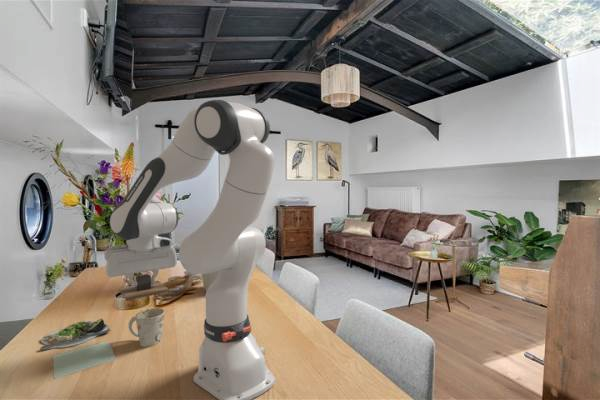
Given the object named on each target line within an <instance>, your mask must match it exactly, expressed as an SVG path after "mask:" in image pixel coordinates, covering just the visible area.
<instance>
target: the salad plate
mask: <svg viewBox="0 0 600 400" xmlns="http://www.w3.org/2000/svg"><path fill="white" fill-rule="evenodd" d="M109 332H111V329H110V327H109V325H108V324H105V321H104V319H103V318H99V319H97V320H96V321H93V320H85V321H79V322H75V323H72V324H70V325H67V326H66V327H63V328H61V329H58V330H55V331H53V332H50V333H47V334H45V335H44V336H42V338H41V340H40V343H42V345H43V346H41V347H40V348H39V350H41V351H42V350H44V351H45V350H51V349H52V350H53V349H64V348H65V349H66V348H71V347H77V346H79V345H82V344H85V343H86V342H89V341H91V340H93V339H96V338H98V337H101V336H104V335H105V334H107V333H109ZM51 339H52V340H53V339H56V340H55V342H51V341H50V340H51Z"/></svg>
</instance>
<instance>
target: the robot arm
mask: <svg viewBox="0 0 600 400" xmlns="http://www.w3.org/2000/svg"><path fill="white" fill-rule="evenodd" d="M270 129H271V126H270V122H269V119H268V118H267V116H266V115H265V114H264V113H263V112H261V110H259V109H257V108H255V107H250V106H246V105H244V104H243V103H241V102H234V101H226V100H223V99H212V100H207V101H205V102H203V103H202V104H201V105H199V107H197V108H193V109H191V110H190V111H189V113H188V114H187V115H186V116H185V118H184V119H183V120H182V122H181V123H180V125H179V126H178V128H177V130H176V132H175V134H174V135H173V138H172V140H171V142H169V144H168V146H166V148H165V149H164V151H163V152H161V153H160V154H159V155H158V156H156V158H154V159H152V160H150V161H149V162H148V163H147V164H146V166H145V167H144V168H143V169H142V171H141V173H140V174H139V176H138V177H137V178H136V180H135V181H134V183H133V184H132V186H131V187H130V189H129V191H128V192H127V194H125V195H126V196H125V197H124V198H123V199H122V200H121V201H120V203H119V204H117V206H115V208H114V209H113V210H112V212H111V214H110V216H109V228H110V230H111V232H112V233H113V234H114V235H115V236H116V237H118V238H119V239H121V240H124V241H126V243H125V244H119V245H118V244H117V245H110V246H109V247H108V248H106V249H105V250H104V253H103V254H104V259H105V260H106V263H105V275H107V277H109V278H116V277H122V276H127V277H128V279H129V280H130V282H131V286H132V287H133V288H135V287H138V281H137V280H136V279H134V278H135V274H139V273H145V272H146V273H147V272H152V275H151V284H155V281H156V278H157V276H158V275H159V270H164V269H171V268H175V267H176V265H177V264H178V260H177V259H178V258H179V261H180V264H181V265H182V267H183V269H184V270H185V271H186V272H187V273H189V274H192V275H202V274H209V273H213V272H217V271H220V272H219V274H218V276H217V278H216V280H215V281H214V282H213V283H212V284H211V285H210V286H209V288H208V289H207V291H206V292H205V318H204V322H203V323H204V324H203V330H204V333H203V334H204V338H203V340H202V342H201V344H200V346H199V353H198V354H199V355H198V369H197V372H196V373H195V374H194V375H193V382H194V383H195V384H196V385H198V386H199V387H201V388H202V389H203V390H205V391H206V392H208V393H209V394H211V395H212V396H213V397H215V398H216V399H218V400H252V399H254V398H257V397H259V396H261V395H262V394H264V393H265V392H267V391H268V390H270V389H271V388H272V387H273V386H274V384H275V383H276V377H275V376H274V374H273V372H272V371H271V369H269V367H268V366H267V365H266V361H265V355H266V350H265V348H264V346H260V347H259V345H258V343H257V338H256V337H254V336H253V334H252V327H253V326H252V325H251V320H250V317H249V315H248V290H249V284H250V280H251V277H252V275H253V271H254V269H255V267H256V264H257V263H258V261H259V260H260V259H261V257H262V256H263V255H264V254H265V252H266V245H267V242H266V238H265V235H264V233H263V232H262V231H261V229H259V228H258V227H255V226H251V225H252V224H253V223H254V222H256V220H258V218H259V216H260V213H261V210H262V208H263V204H264V202H265V199H266V196H267V193H268V191H269V188H270V184H271V181H272V176H273V173H274V166H275V154H274V152H273V151H272V150H271V148H270V147H269V146H267V145H266V144H264V143H265V142H266V141H267V139H268V138H269V135H270ZM215 153H218V154H219V155H222V156H223V155H224V156H225V155H228V157H229V165H228V169H227V172H226V175H225V178H224V182H223V185H222V187H221V190H220V191H221V192H220V193H219V197H218V200H217V201H216V204H215V206H214V208H213V210H212V211H211V212H210V214H209V216H208V217H207V218H206V219H205V221H203V223H202V224H201V225H200V226H199V227H198V228H196V230H194V231H193V232H192V233H190V234H189V235H187V236H186V237H184V238H183V239H182V241H181V244H180V246H179V249H178V257H177V251H176V249H175V248H174V247H173V246H174V240H173V239H171V238H168V237H164V236H163V235H164V234H168V233H171V232H173V231H174V230H175V229H176V228H177V226H178V223H179V212H178V210H177V208H176V207H175V206H174V205H173V204H172V203H169V202H166V201H163V200H161V199H160V198H158V197H157V195H156V193H157V192H159V191H160V190H161V189H163V188H165V187H168V186H169V185H173V184H175V183H179V182H184V181H189V180H191V179H195V178H197V177H199V176H200V175H202V174H203V173H204V171H205V170H206V169H208V167H209V164H210V162H211V161H212V158H213V157H214V155H215ZM161 235H162V236H161Z"/></svg>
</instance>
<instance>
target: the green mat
mask: <svg viewBox="0 0 600 400" xmlns="http://www.w3.org/2000/svg"><path fill="white" fill-rule="evenodd" d="M109 341H110V340H107V341H104V342H100V343H96V344H92V345H89V346H86V347H81V348H78V349H75V350H70V351H67V352H63V353H60V354H56V355H52V358H53V359H52V360H53V361H52V362H53V377H54V379H58V378H62V377H65V376H68V375H71V374H75V373H78V372H80V371H84V370H88V369H90V368H93V367H97V366H101V365H103V364H107V363H109V362H114V361H116V360H117V357H116V355H115V353H114V351H113V348H112V346H111V343H110V342H109Z"/></svg>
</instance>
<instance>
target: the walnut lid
mask: <svg viewBox="0 0 600 400" xmlns="http://www.w3.org/2000/svg"><path fill="white" fill-rule="evenodd" d="M151 277H152V275H149V274H148V273H147V274H141V275H135V281H136V280H137V281H138V287H135V288H133V287H132V285H129V286H122V287H119V288H118V292H119V293H120V294H121V295H122V297H123V298H124V300H125V301H126V302H127V301H132V300H136V299H141V298H146V297H151V296H155V295H160V294H164V293H169V292H170V289H169V288H168V287H166V285H164V284H163V283H162V282H161V281H159V280H155V284H151Z"/></svg>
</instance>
